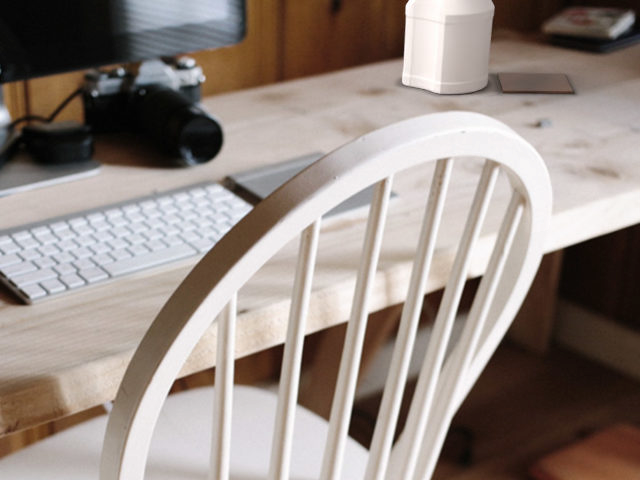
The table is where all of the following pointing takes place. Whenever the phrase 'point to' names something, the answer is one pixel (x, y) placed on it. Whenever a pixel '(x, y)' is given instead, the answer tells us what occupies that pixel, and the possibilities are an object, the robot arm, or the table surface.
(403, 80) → the jar
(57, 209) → the table surface
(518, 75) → the coaster
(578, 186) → the table surface
